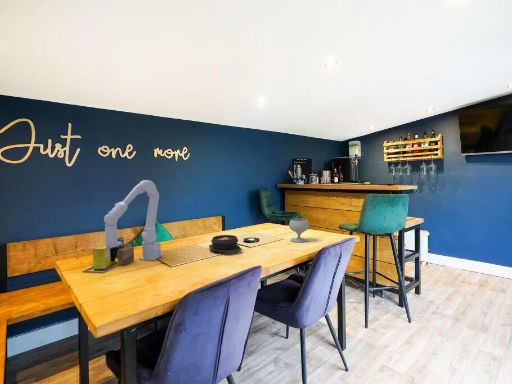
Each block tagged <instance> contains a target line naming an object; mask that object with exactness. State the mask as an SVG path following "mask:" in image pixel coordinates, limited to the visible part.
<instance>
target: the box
mask: <svg viewBox="0 0 512 384" xmlns="http://www.w3.org/2000/svg"><path fill="white" fill-rule="evenodd" d="M117 239H118V242H122V245H120V246H117V247H118V248H119V250H120V249H122V248H125V246H124V245H125V244H124V238H123V237H121V236H120V237H117ZM116 258H118V252H117V255H116Z"/></svg>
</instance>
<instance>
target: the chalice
mask: <svg viewBox="0 0 512 384" xmlns="http://www.w3.org/2000/svg"><path fill="white" fill-rule="evenodd" d="M288 227H289V229H290V230H291V231H293V232H295V234H297V237H292V238H290V242H295V243H304V242H308V241H309V240H308V239H307V238H302V237H301V234H303V233H304V232H306V231H308V230H309V228H310V223H309V220H308V219H307V218H291V219H290V220H289V223H288Z"/></svg>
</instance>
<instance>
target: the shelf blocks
mask: <svg viewBox="0 0 512 384" xmlns="http://www.w3.org/2000/svg"><path fill="white" fill-rule="evenodd" d="M133 262H135V247H134V246H124V248H122V249H120V250H118V257H117V265H118V266H117V267H119V266H121V267H126V266H127V265H129V264H132V263H133Z"/></svg>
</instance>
